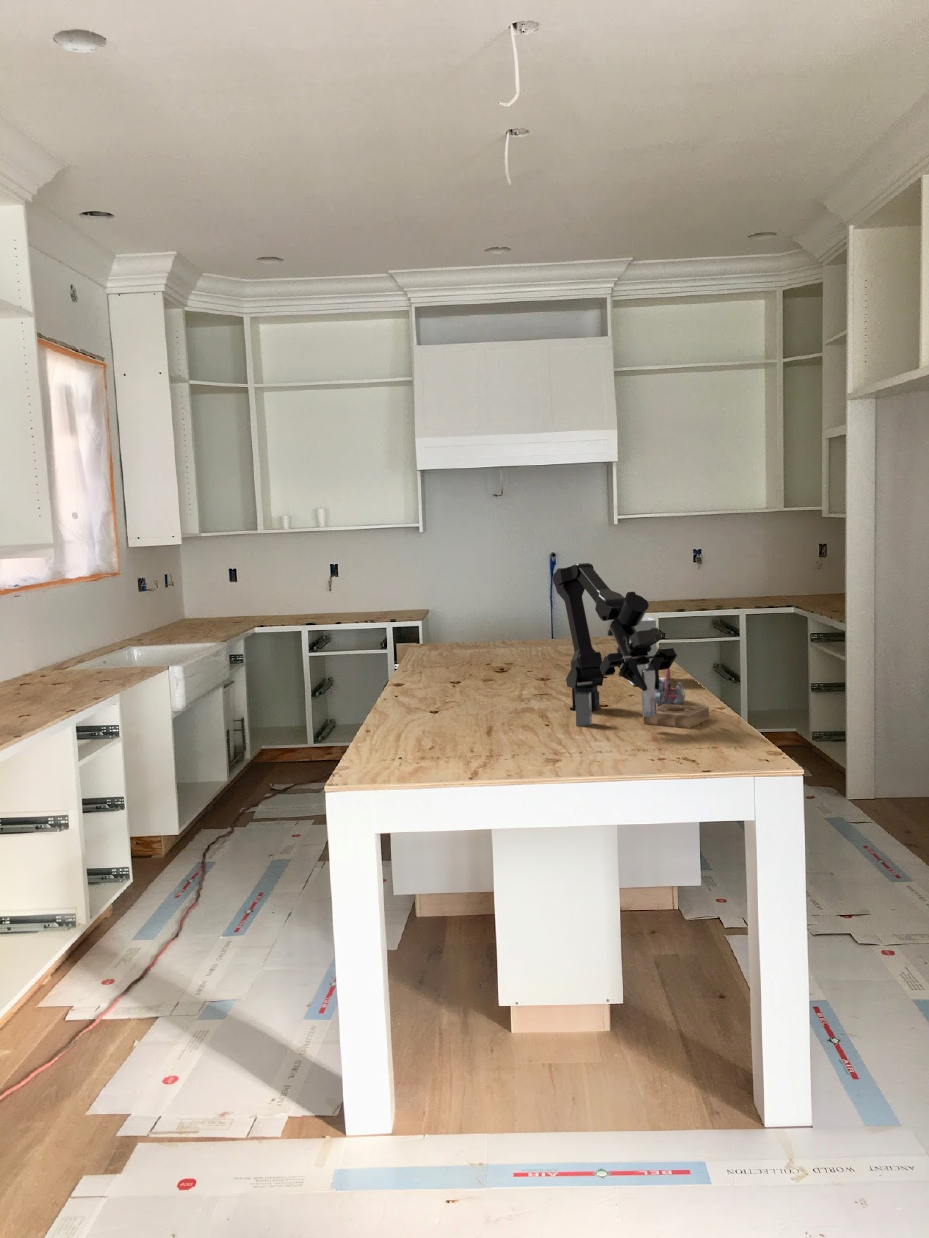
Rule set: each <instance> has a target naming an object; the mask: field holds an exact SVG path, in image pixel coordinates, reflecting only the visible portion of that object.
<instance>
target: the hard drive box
mask: <svg viewBox="0 0 929 1238" xmlns="http://www.w3.org/2000/svg"><path fill="white" fill-rule="evenodd" d="M635 628H636V630H637V632H638V631H644V630H651V628H657V620H656V619H654V618H652V617H650V616H645V615H644V617H643V618H642V620H641V622H640V624H639V625H637V626H635ZM651 648H652V649H651V651H650V652H648V655H652V654H654V655H655V654H656V652H657V643H656V644H653V645H651ZM637 667H638V670H639V672H640V674H641V676H642V670H644V669H647V668H646V666H645V665H637ZM627 681H628V682H629V683H630V684H631V686H633V687H635V686H636V685H635V684H633V683H632V682H630V681H629V680H627Z"/></svg>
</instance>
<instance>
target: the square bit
mask: <svg viewBox="0 0 929 1238" xmlns="http://www.w3.org/2000/svg"><path fill="white" fill-rule="evenodd" d="M575 704H576V710H575V726H576V727H591V725H592V724H593V717H592V715H593V710H592V707H591V692H577V693H576V694H575ZM591 723H592V724H591Z"/></svg>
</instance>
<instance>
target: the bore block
mask: <svg viewBox="0 0 929 1238" xmlns="http://www.w3.org/2000/svg"><path fill="white" fill-rule="evenodd" d="M709 710H710V707H709V706H707V707H706V706H697V705H686V704H685V705H683V704H681V705H674V704H663V705H660V706H658V705H657V706H656V716H655V717H644V716H643V724H644V725H651V726H661V727H671V726H673V727H672V728H681V727H682V728H681V729H684V728H685V729H691V728H693V727H695V726H697V725H699V724H701V723H700V722H702V723H704V722H706V721H708V720H710V711H709ZM707 719H708V720H707ZM705 720H706V721H705ZM692 726H693V727H692Z"/></svg>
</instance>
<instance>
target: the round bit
mask: <svg viewBox="0 0 929 1238" xmlns="http://www.w3.org/2000/svg"><path fill="white" fill-rule="evenodd" d="M642 679H643V681H644V683H645V685H646V690H645V691H643V690H641V707H642V717H643V718H644V717H655V716H656V707H657V703H656V686H655V670H653V669H644V670H642Z"/></svg>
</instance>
